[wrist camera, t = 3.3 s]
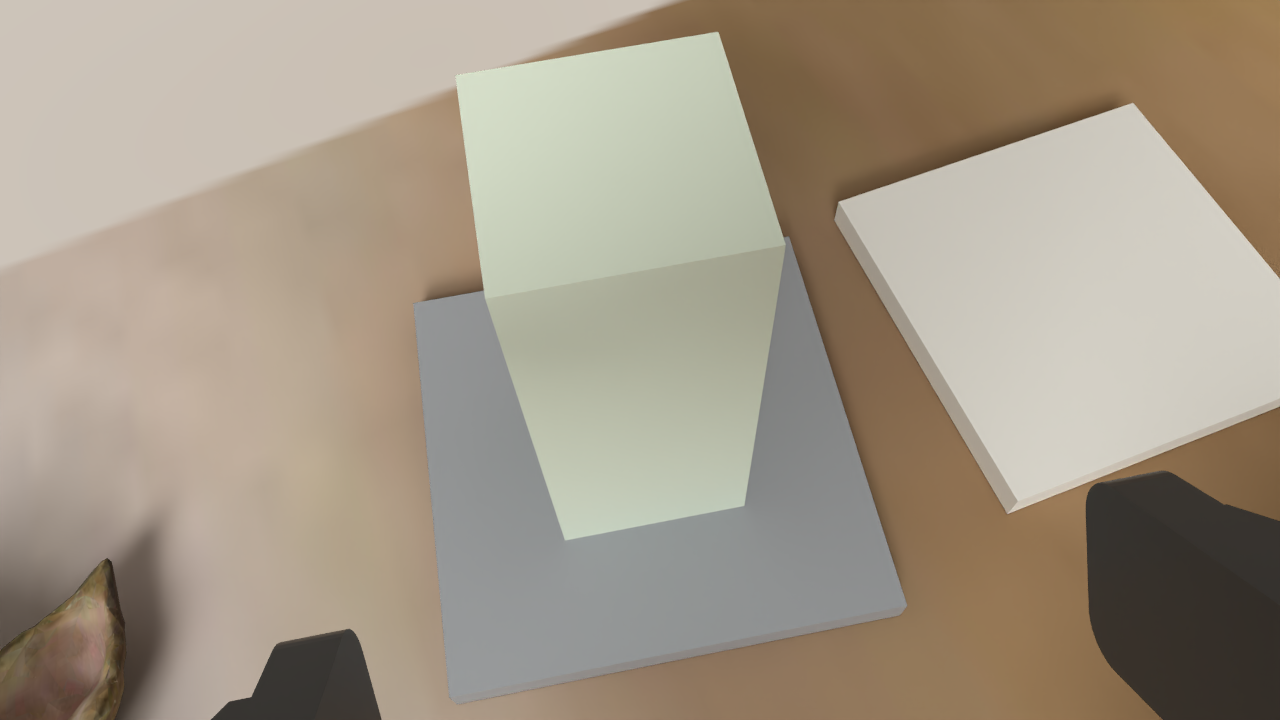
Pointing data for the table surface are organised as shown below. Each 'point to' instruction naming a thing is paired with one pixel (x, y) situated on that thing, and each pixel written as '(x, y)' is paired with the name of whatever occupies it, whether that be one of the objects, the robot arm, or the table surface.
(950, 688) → the table surface
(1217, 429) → the mat
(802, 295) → the post stand
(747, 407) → the pale green pillar
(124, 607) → the table surface
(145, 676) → the table surface
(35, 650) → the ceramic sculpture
